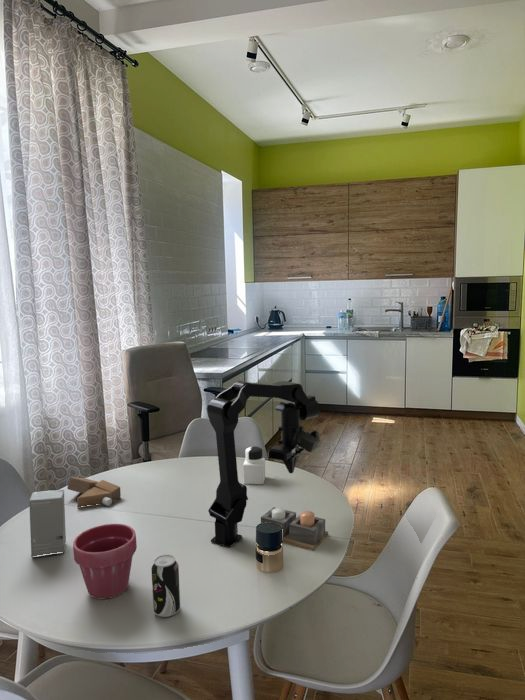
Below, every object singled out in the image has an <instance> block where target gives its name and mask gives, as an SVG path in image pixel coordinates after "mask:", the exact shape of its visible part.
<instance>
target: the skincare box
mask: <svg viewBox="0 0 525 700" xmlns="http://www.w3.org/2000/svg"><path fill="white" fill-rule="evenodd" d="M28 502H29V528H30V553H31V554H30V556H31V557H32V556H37V555H43V554H50V553H57V552H63V551H64V552H65V550H64V549H65V548H66V545H65V543H67V536H66V534H67V533H66V511H65V510H66V508H65V489H59V490H58V489H56V490H52V489H51V490H49V489H48V490H45V491H34V492H32V493H31V495H30V499H29V501H28Z"/></svg>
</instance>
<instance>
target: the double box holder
mask: <svg viewBox="0 0 525 700" xmlns="http://www.w3.org/2000/svg"><path fill="white" fill-rule="evenodd" d="M275 508H276V507H275V506H273V507H272V508H271V509H269V510H268V511H267V512H265V513H264V514H263V515H262V516H260V524H261V523H265V522H271V523H277V524H279V525H281V526H282V529H283V544H286V545H290V546H294V547H298V548H302V549H306V550H309V551H313V552H314V551H315V549H316V548H317V547H318V546H319V545H320V544H321V543H322V542H323V540H324V539H326V537H328V535H329V531H326V518H321V517H318V516H314V526H313V527H312V528H311V527H307V526H303V525H301V524H300V514H298V515H297V512H295V511H291V510H286V509H284V510H285V518H284V519H283V520H278V519H274V518H272V510H273V509H275Z"/></svg>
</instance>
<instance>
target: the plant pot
mask: <svg viewBox="0 0 525 700" xmlns="http://www.w3.org/2000/svg"><path fill="white" fill-rule="evenodd" d="M72 543H73V544H72V550H73V551H72V553H73V560H74V561H75V563H76V564H77V565H78V566H79V569H80V572H81V574H82V578H83V582H84V583H85V587H86V590H87V592H88V595H89V594H90V595H91V596H93V597H95V598H94V599H96V598H101V599H100V600H105V599H104V598H109V599H112V598H111V597H113V598H116V597H118V596H119V594H120V595H122V594H123V593H124V592H126V590H127V589H128V587H129V582H130V576H131V570H132V563H133V561H132V560H133V556H134V555H135V554H136V552H137V547H138V545H137V535H136V531H135V529H134V528H133V527H132V526H130V525H127V524H122V523H108V524H107V523H106V524H101V525H97V526H94V527H91V528H88V529H85V530H84V531H82V532H81V533H79V534H78V535H77V536H76V537H75V538H74V540H73V542H72ZM90 595H89V596H90ZM117 595H118V596H117ZM91 596H90V597H91ZM93 597H92V598H93ZM102 598H103V599H102Z"/></svg>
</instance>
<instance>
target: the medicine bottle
mask: <svg viewBox="0 0 525 700" xmlns="http://www.w3.org/2000/svg"><path fill="white" fill-rule="evenodd" d="M244 454H245V459H244V462H243V464H242V473H243V474H242V477H243V481H242V482H243V483H242V484H243V485H264V483H265V479H266V459H265V458H263V449H262V448H261V447H259V446H249V447H247V448H245V452H244Z"/></svg>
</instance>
